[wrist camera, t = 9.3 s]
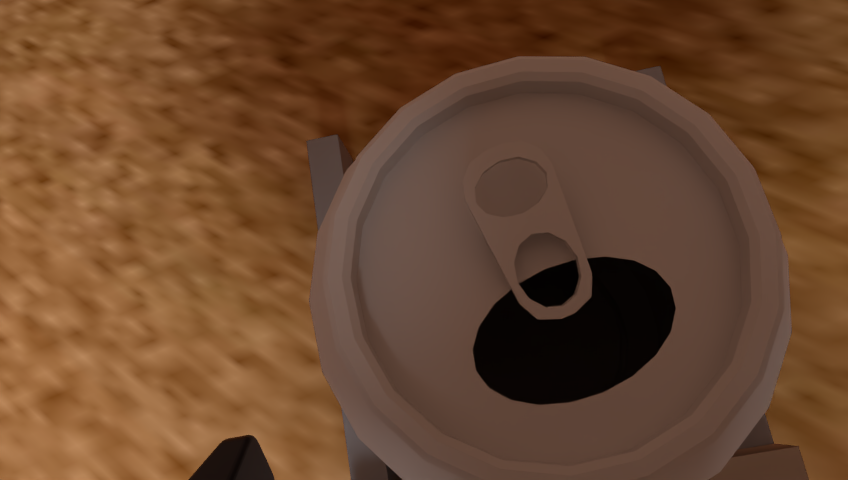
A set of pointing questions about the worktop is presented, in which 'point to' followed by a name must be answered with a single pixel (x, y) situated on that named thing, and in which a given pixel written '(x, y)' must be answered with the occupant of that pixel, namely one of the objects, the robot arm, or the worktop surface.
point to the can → (551, 281)
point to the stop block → (764, 464)
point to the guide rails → (326, 174)
